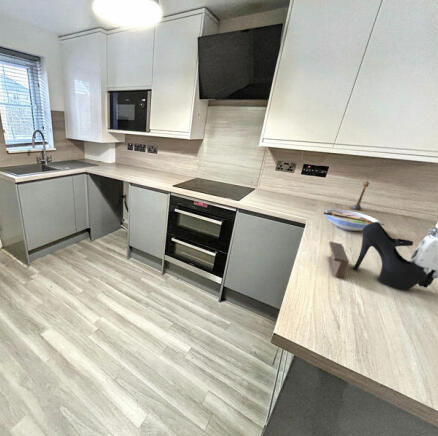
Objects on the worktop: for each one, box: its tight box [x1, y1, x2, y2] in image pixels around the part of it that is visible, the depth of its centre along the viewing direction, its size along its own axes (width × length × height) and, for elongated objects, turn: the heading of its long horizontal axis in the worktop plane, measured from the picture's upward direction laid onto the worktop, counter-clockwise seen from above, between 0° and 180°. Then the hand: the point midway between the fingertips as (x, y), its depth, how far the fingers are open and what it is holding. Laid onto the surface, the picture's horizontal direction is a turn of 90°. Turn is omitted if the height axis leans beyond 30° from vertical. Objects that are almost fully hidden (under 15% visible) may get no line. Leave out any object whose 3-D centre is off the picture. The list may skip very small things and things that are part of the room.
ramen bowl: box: [323, 208, 386, 232], centre depth 129 cm, size 25×23×8 cm
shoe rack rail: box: [328, 241, 350, 279], centre depth 90 cm, size 4×16×7 cm, turn 149°
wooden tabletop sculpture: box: [351, 180, 370, 211], centre depth 162 cm, size 6×5×20 cm
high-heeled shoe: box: [352, 222, 427, 291], centre depth 81 cm, size 8×19×20 cm, turn 36°
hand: (421, 284), depth 79 cm, fingers closed
